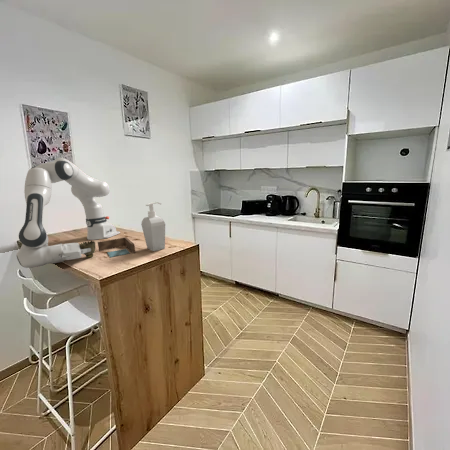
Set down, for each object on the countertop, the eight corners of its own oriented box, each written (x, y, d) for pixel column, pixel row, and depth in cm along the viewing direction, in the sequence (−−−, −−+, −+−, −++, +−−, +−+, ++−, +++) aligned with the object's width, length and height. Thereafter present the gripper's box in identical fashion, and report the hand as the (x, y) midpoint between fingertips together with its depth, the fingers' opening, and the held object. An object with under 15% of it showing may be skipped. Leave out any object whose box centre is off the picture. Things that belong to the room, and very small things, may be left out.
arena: (104, 259, 130) (102, 250, 129) (98, 250, 146) (97, 242, 145) (135, 252, 138) (134, 243, 137) (127, 245, 154) (126, 237, 153)
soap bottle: (170, 248, 143) (165, 202, 138) (154, 252, 137) (148, 204, 131) (160, 244, 152) (155, 201, 147) (144, 248, 146) (138, 203, 140)
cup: (79, 257, 135) (77, 243, 133) (94, 254, 140) (92, 239, 138) (84, 260, 130) (81, 245, 128) (99, 256, 135) (97, 241, 133)
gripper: (57, 252, 118) (91, 246, 125) (57, 243, 135) (87, 238, 142) (60, 265, 119) (93, 258, 126) (60, 254, 136) (89, 249, 143)
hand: (90, 247), depth 134 cm, fingers closed on cup, 7 cm apart
